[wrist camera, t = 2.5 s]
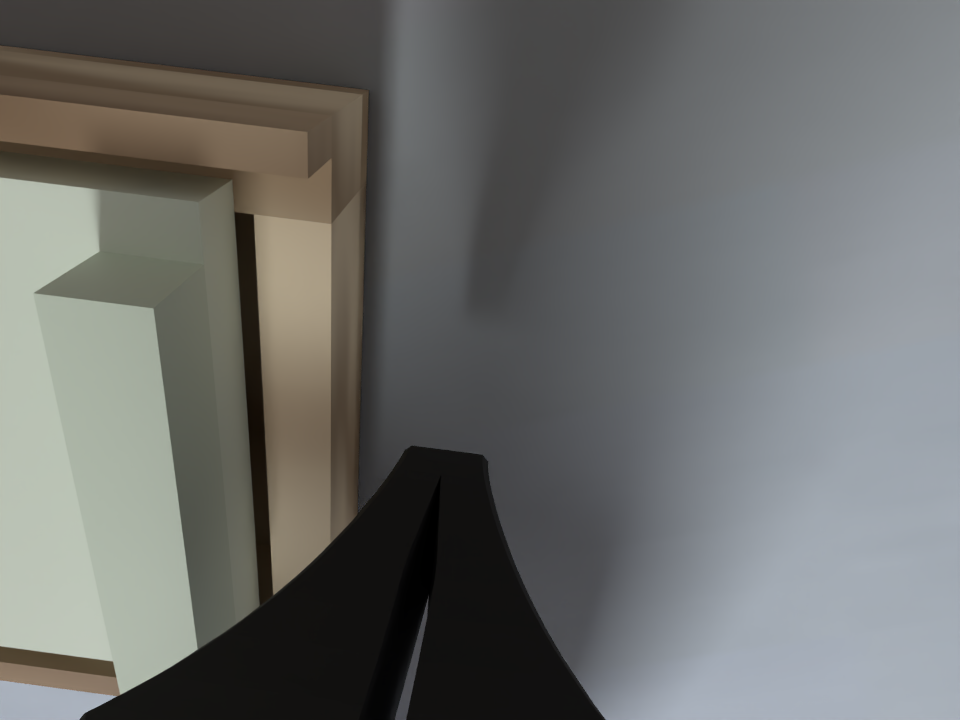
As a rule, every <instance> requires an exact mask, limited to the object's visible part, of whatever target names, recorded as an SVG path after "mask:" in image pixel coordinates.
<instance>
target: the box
mask: <svg viewBox="0 0 960 720" xmlns="http://www.w3.org/2000/svg"><path fill="white" fill-rule="evenodd" d="M368 104H369V90H364V89H355V88H347V87H339V86H331V85H323V84H314V83H306V82H298V81H290V80H281V79H273V78H265V77H257V76H248V75H240V74H232V73H224V72H216V71H207V70H199V69H191V68H183V67H174V66H166V65H158V64H150V63H142V62H133V61H125V60H117V59H109V58H100V57H92V56H84V55H76V54H67V53H59V52H51V51H43V50H35V49H26V48H18V47H10V46H2V45H0V151H6V152H14V153H22V154H30V155H38V156H46V157H54V158H62V159H70V160H78V161H86V162H95V163H103V164H111V165H119V166H127V167H135V168H143V169H151V170H159V171H167V172H175V173H183V174H191V175H199V176H208V177H216V178H224V179H232V183H233V198H234V214H235V229H236V245H237V260H238V276H239V291H240V307H241V322H242V338H243V353H244V369H245V384H246V400H247V415H248V431H249V446H250V462H251V477H252V493H253V508H254V524H255V539H256V555H257V570H258V586H259V601H260V605H262V604H263V603H264V602H265V601H267V600H268V599H269V598H271V597H272V596H273V595H274V594H276V593H277V592H278V591H279V590H281V589H282V588H283V587H284V586H285V585H286V584H288V583H289V582H290V581H291V580H292V579H293V578H294V577H296V576H297V575H298V574H299V573H300V572H301V571H302V570H304V569H305V568H306V567H307V566H308V565H309V564H310V563H311V562H312V561H313V560H314V559H315V558H316V557H317V556H318V555H319V554H321V553H322V552H323V551H324V549H325V548H326V547H327V546H328V545H329V544H330V543H331V542H332V541H333V540H334V539H335V538H336V537H337V536H338V535H339V534H340V533H341V532H342V531H343V530H344V529H345V528H346V527H347V526H348V525H349V523H350V522H351V521H352V520H353V519H354V518H355V517H356V516H357V514H358V477H359V440H360V403H361V365H362V328H363V291H364V253H365V216H366V178H367V141H368ZM0 680H3V681H10V682H17V683H25V684H32V685H39V686H47V687H54V688H61V689H69V690H76V691H84V692H91V693H98V694H106V695H113V696H119V695H120V692H119V687H118V682H117V678H116V673H115V669H114V664H113V661H106V660H99V659H91V658H84V657H77V656H69V655H62V654H54V653H47V652H40V651H32V650H25V649H17V648H10V647H3V646H0Z"/></svg>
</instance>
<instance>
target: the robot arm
mask: <svg viewBox="0 0 960 720" xmlns="http://www.w3.org/2000/svg"><path fill="white" fill-rule="evenodd" d="M428 595H429V601H428V616H427V622H426V627H425V632H424V637H423V642H422V647H421V652H420V657H419V662H418V667H417V671H416V676H415V681H414V686H413V690H412V695H411V700H410V705H409V709H408V714H407V719H406V720H605V718H604V717H603V716H602V714H601V713H600V712H599V710H598V709H597V708H596V706H595V705H594V704H593V702H592V701H591V699H590V698H589V696H588V695H587V693H586V692H585V690H584V689H583V687H582V686H581V684H580V683H579V681H578V680H577V678H576V677H575V675H574V674H573V672H572V671H571V669H570V668H569V666H568V665H567V663H566V662H565V660H564V659H563V657H562V655H561V654H560V652H559V650H558V649H557V647H556V645H555V643H554V642H553V640H552V638H551V637H550V635H549V633H548V631H547V630H546V628H545V626H544V624H543V622H542V620H541V618H540V617H539V615H538V613H537V611H536V609H535V607H534V605H533V603H532V601H531V599H530V597H529V595H528V593H527V590H526V588H525V586H524V584H523V582H522V579H521V577H520V575H519V572H518V570H517V568H516V565H515V563H514V560H513V558H512V555H511V553H510V550H509V547H508V545H507V542H506V539H505V536H504V533H503V530H502V527H501V524H500V521H499V518H498V514H497V511H496V507H495V503H494V499H493V495H492V491H491V486H490V481H489V473H488V461H487V460H486V458H485V457H484V456H483V455H479V454H472V453H464V452H457V451H449V450H441V449H434V448H426V447H419V446H411V447H409V448H408V449H406V450H405V451H404V453H403V455H402V456H401V458H400V460H399V461H398V463H397V464H396V466H395V467H394V469H393V470H392V472H391V473H390V474H389V476H388V477H387V478H386V480H385V481H384V482H383V484H382V485H381V486H380V488H379V489H378V490H377V492H376V493H375V494H374V495H373V496H372V498H371V499H370V500H369V501H368V502H367V504H366V505H365V506H364V507H363V508H362V510H361V511H360V512H359V513H358V514H357V516H356V517H355V518H354V519H353V520H352V521H351V522H350V523H349V525H348V526H347V527H346V528H345V529H344V530H343V531H342V532H341V533H340V534H339V535H338V536H337V537H336V538H335V539H334V540H333V541H332V542H331V543H330V544H329V545H328V546H327V547H326V548H325V549H324V551H323V552H322V553H321V554H319V555H318V556H317V557H316V558H315V559H314V560H313V561H312V562H311V563H310V564H309V565H308V566H307V567H306V568H305V569H304V570H302V571H301V572H300V573H299V574H298V575H297V576H296V577H294V578H293V579H292V580H291V581H290V582H289V583H288V584H286V585H285V586H284V587H283V588H282V589H281V590H279V591H278V592H277V593H276V594H274V595H273V596H272V597H271V598H269V599H268V600H267V601H265V602H264V603H263V604H262V605H260V606H259V607H258V608H256V609H255V610H254V611H253V612H251V613H250V614H249V615H247V616H246V617H245V618H243V619H242V620H241V621H239V622H238V623H237V624H235V625H234V626H232V627H231V628H230V629H228V630H227V631H225V632H224V633H222V634H221V635H219V636H218V637H216V638H215V639H213V640H212V641H210V642H208V643H207V644H205V645H204V646H202V647H201V648H199V649H198V650H196V651H195V652H193V653H191V654H190V655H188V656H187V657H185V658H184V659H182V660H181V661H179V662H178V663H176V664H174V665H173V666H171V667H170V668H168V669H166V670H164V671H163V672H161V673H159V674H158V675H156V676H154V677H152V678H150V679H149V680H147V681H145V682H143V683H141V684H139V685H138V686H136V687H134V688H132V689H130V690H128V691H126V692H125V693H123V694H121V695H119V696H117V697H115V698H113V699H112V700H110V701H108V702H106V703H104V704H102V705H100V706H98V707H96V708H94V709H92V710H90V711H88V712H86V713H85V714H84V715H83V716H82V717H81V718H80V720H395V716H396V712H397V708H398V705H399V701H400V698H401V694H402V690H403V687H404V683H405V679H406V676H407V672H408V668H409V665H410V661H411V658H412V654H413V650H414V647H415V643H416V639H417V636H418V632H419V629H420V625H421V621H422V618H423V614H424V610H425V607H426V603H427V599H428Z"/></svg>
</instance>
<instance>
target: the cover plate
mask: <svg viewBox="0 0 960 720" xmlns="http://www.w3.org/2000/svg"><path fill="white" fill-rule="evenodd" d="M259 606H260V601H259V586H258V570H257V555H256V539H255V524H254V508H253V493H252V477H251V462H250V446H249V431H248V415H247V400H246V384H245V369H244V353H243V338H242V322H241V307H240V291H239V276H238V260H237V245H236V229H235V214H234V198H233V183H232V179H224V178H216V177H208V176H199V175H191V174H183V173H175V172H167V171H159V170H151V169H143V168H135V167H127V166H119V165H111V164H103V163H95V162H86V161H78V160H70V159H62V158H54V157H46V156H38V155H30V154H22V153H14V152H6V151H0V646H3V647H10V648H17V649H25V650H32V651H40V652H47V653H54V654H62V655H69V656H77V657H84V658H91V659H99V660H106V661H113V664H114V669H115V673H116V678H117V682H118V687H119V692H120V695H121V694H123V693H125V692H126V691H128V690H130V689H132V688H134V687H136V686H138V685H139V684H141V683H143V682H145V681H147V680H149V679H150V678H152V677H154V676H156V675H158V674H159V673H161V672H163V671H164V670H166V669H168V668H170V667H171V666H173V665H174V664H176V663H178V662H179V661H181V660H182V659H184V658H185V657H187V656H188V655H190V654H191V653H193V652H195V651H196V650H198V649H199V648H201V647H202V646H204V645H205V644H207V643H208V642H210V641H212V640H213V639H215V638H216V637H218V636H219V635H221V634H222V633H224V632H225V631H227V630H228V629H230V628H231V627H232V626H234V625H235V624H237V623H238V622H239V621H241V620H242V619H243V618H245V617H246V616H247V615H249V614H250V613H251V612H253V611H254V610H255V609H256V608H258V607H259Z"/></svg>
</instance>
